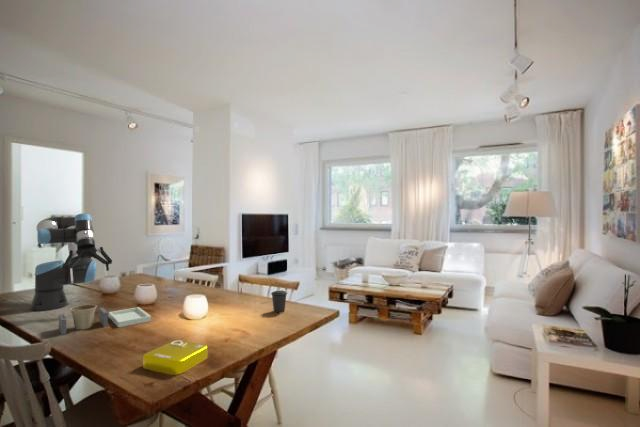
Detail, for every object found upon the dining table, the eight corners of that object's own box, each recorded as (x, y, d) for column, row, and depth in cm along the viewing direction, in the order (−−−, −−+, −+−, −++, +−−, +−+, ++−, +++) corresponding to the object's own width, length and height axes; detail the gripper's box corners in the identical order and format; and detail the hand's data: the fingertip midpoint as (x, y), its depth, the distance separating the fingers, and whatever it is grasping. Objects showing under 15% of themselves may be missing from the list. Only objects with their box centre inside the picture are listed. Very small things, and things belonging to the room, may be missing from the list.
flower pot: (83, 332, 140) (83, 311, 140) (64, 330, 142) (64, 309, 142) (102, 324, 149) (102, 305, 149) (84, 323, 151) (84, 303, 151)
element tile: (140, 369, 108) (140, 353, 108) (175, 351, 122) (175, 337, 122) (177, 377, 102) (177, 361, 102) (210, 357, 116) (210, 343, 116)
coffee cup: (288, 309, 174) (288, 289, 174) (285, 313, 166) (285, 293, 166) (273, 308, 175) (273, 289, 175) (269, 313, 166) (269, 292, 166)
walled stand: (58, 328, 144) (58, 314, 144) (103, 320, 155) (103, 307, 155) (61, 335, 137) (61, 320, 137) (107, 326, 147) (107, 312, 147)
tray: (108, 317, 160) (108, 312, 160) (138, 311, 169) (138, 307, 169) (118, 327, 146) (118, 322, 146) (151, 321, 154) (151, 316, 154)
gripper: (54, 240, 164) (56, 281, 155) (114, 234, 178) (119, 271, 169) (55, 248, 169) (57, 287, 160) (114, 241, 183) (119, 277, 175)
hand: (89, 279), depth 165 cm, fingers open, 13 cm apart
